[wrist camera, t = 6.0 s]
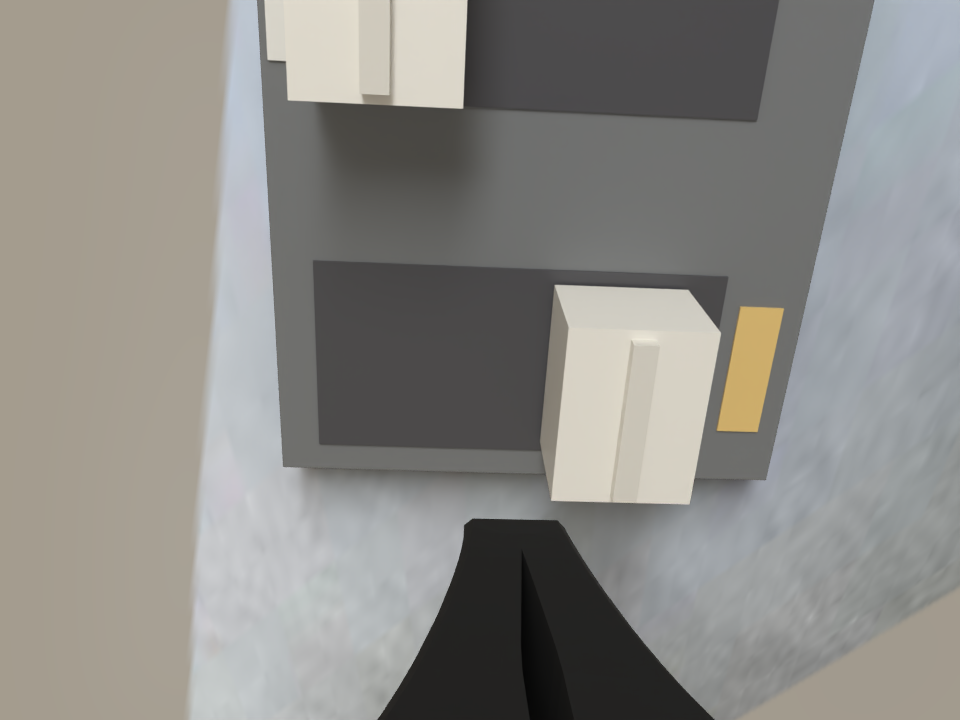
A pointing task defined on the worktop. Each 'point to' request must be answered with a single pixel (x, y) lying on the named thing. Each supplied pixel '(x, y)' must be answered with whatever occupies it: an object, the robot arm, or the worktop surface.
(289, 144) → the switch plate
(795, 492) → the worktop surface
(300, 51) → the middle tab
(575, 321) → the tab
